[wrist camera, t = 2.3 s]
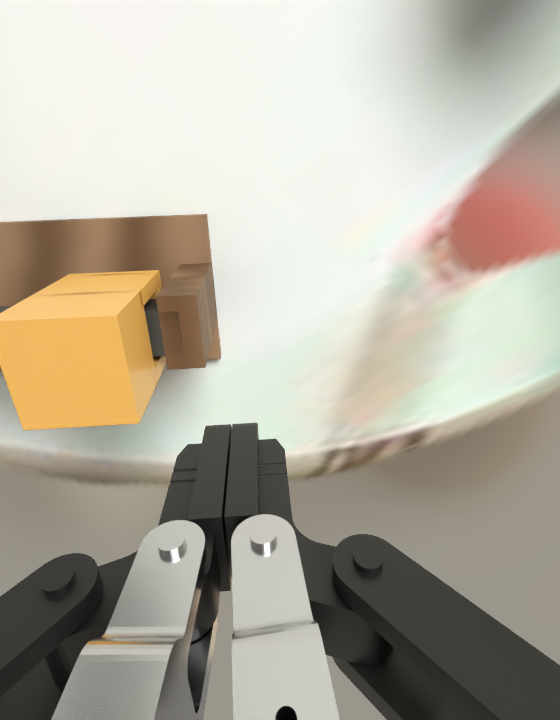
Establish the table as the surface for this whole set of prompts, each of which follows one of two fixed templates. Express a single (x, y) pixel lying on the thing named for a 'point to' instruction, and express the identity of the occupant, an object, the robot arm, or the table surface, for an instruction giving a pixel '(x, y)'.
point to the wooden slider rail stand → (122, 254)
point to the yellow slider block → (82, 351)
